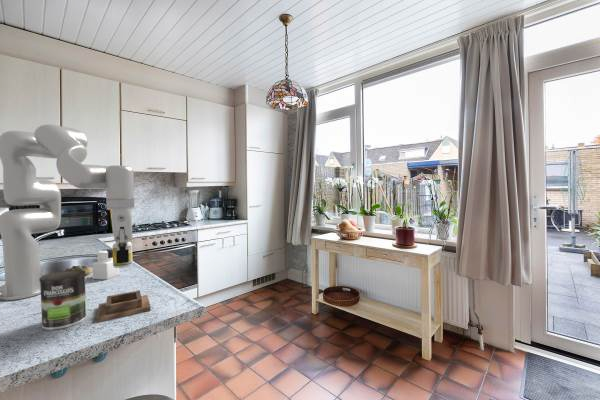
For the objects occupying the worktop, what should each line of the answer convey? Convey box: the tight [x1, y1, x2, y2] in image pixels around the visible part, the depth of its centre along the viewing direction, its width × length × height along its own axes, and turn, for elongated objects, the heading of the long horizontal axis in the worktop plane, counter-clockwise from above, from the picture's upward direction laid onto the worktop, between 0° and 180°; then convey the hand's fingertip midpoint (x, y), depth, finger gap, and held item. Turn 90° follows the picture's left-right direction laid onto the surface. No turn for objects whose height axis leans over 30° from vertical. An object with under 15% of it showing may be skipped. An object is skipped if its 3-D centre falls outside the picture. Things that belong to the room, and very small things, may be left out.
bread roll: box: [64, 265, 93, 276], centre depth 127 cm, size 11×11×5 cm
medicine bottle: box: [91, 248, 121, 281], centre depth 123 cm, size 7×7×12 cm
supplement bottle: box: [112, 237, 134, 269], centre depth 90 cm, size 5×5×10 cm
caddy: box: [96, 290, 152, 323], centre depth 91 cm, size 14×12×4 cm
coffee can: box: [39, 269, 88, 331], centre depth 82 cm, size 10×10×14 cm
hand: (122, 259), depth 90 cm, fingers closed on supplement bottle, 5 cm apart
